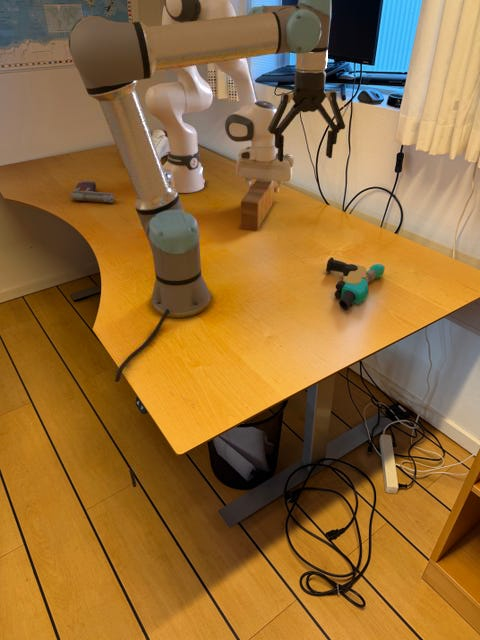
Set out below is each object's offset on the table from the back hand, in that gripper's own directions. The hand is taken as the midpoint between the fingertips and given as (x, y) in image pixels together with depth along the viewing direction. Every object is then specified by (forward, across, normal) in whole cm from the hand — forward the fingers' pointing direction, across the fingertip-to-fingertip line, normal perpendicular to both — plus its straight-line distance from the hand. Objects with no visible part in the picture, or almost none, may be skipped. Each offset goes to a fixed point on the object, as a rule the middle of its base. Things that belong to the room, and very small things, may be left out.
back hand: (263, 190), depth 174 cm
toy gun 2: (+6, -35, +50) cm, 62 cm away
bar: (+6, 0, +8) cm, 10 cm away
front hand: (-24, -19, +35) cm, 46 cm away
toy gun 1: (+6, +65, +7) cm, 66 cm away
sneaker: (+6, +63, -42) cm, 76 cm away
